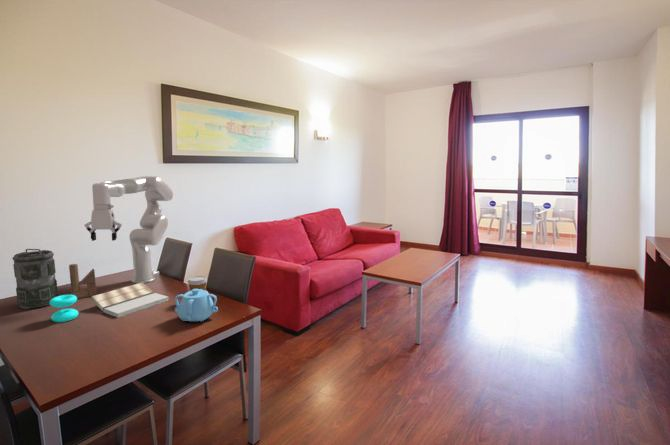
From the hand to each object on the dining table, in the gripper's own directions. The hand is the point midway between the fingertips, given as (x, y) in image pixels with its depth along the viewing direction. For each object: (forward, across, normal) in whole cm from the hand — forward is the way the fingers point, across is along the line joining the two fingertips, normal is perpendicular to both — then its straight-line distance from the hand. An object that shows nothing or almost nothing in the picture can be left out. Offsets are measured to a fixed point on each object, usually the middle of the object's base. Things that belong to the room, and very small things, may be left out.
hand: (104, 240), depth 193 cm
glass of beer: (+30, -49, +12) cm, 58 cm away
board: (+30, -21, +16) cm, 40 cm away
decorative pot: (+31, -52, +34) cm, 70 cm away
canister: (+31, +29, +7) cm, 43 cm away
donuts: (+31, +6, +28) cm, 43 cm away
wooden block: (+31, +12, -1) cm, 33 cm away
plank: (+28, -11, +9) cm, 32 cm away
